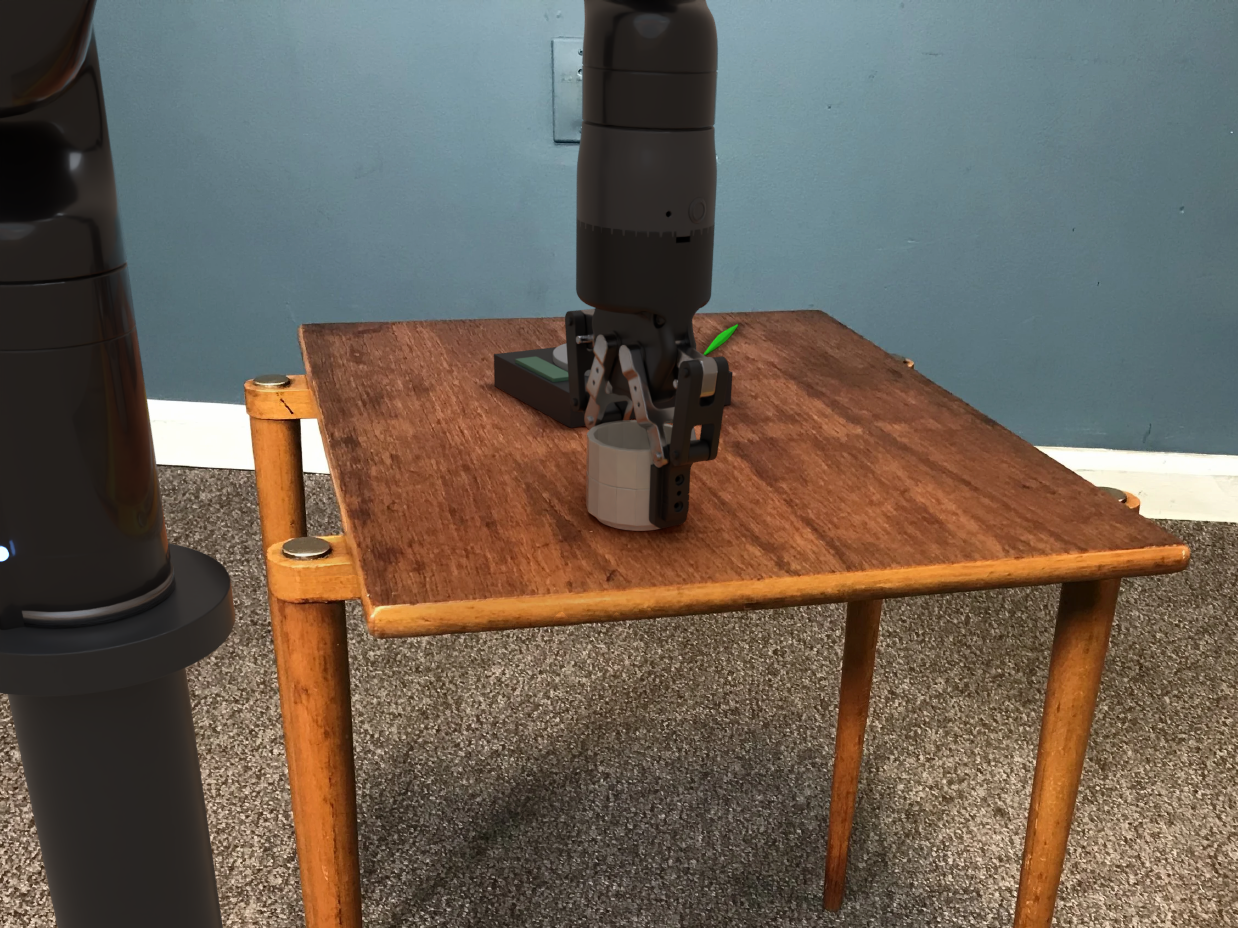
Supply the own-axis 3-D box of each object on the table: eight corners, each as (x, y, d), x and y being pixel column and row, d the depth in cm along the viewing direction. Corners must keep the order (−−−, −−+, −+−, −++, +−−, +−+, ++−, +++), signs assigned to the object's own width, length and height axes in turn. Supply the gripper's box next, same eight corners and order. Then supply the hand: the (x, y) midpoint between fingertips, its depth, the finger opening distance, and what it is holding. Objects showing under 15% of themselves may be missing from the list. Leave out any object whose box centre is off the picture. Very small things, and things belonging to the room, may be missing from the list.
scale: (570, 428, 96) (570, 385, 95) (494, 386, 105) (493, 346, 104) (730, 404, 103) (733, 364, 102) (647, 366, 112) (648, 329, 111)
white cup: (619, 541, 78) (621, 457, 75) (568, 508, 82) (568, 427, 80) (705, 523, 81) (710, 442, 78) (652, 493, 85) (654, 415, 83)
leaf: (743, 328, 127) (744, 319, 127) (705, 363, 115) (706, 353, 115) (734, 326, 128) (735, 318, 127) (695, 361, 116) (696, 352, 115)
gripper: (522, 197, 77) (525, 480, 85) (659, 240, 66) (648, 559, 74) (634, 191, 80) (628, 463, 88) (781, 231, 70) (759, 535, 78)
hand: (637, 505), depth 81 cm, fingers closed on white cup, 6 cm apart
